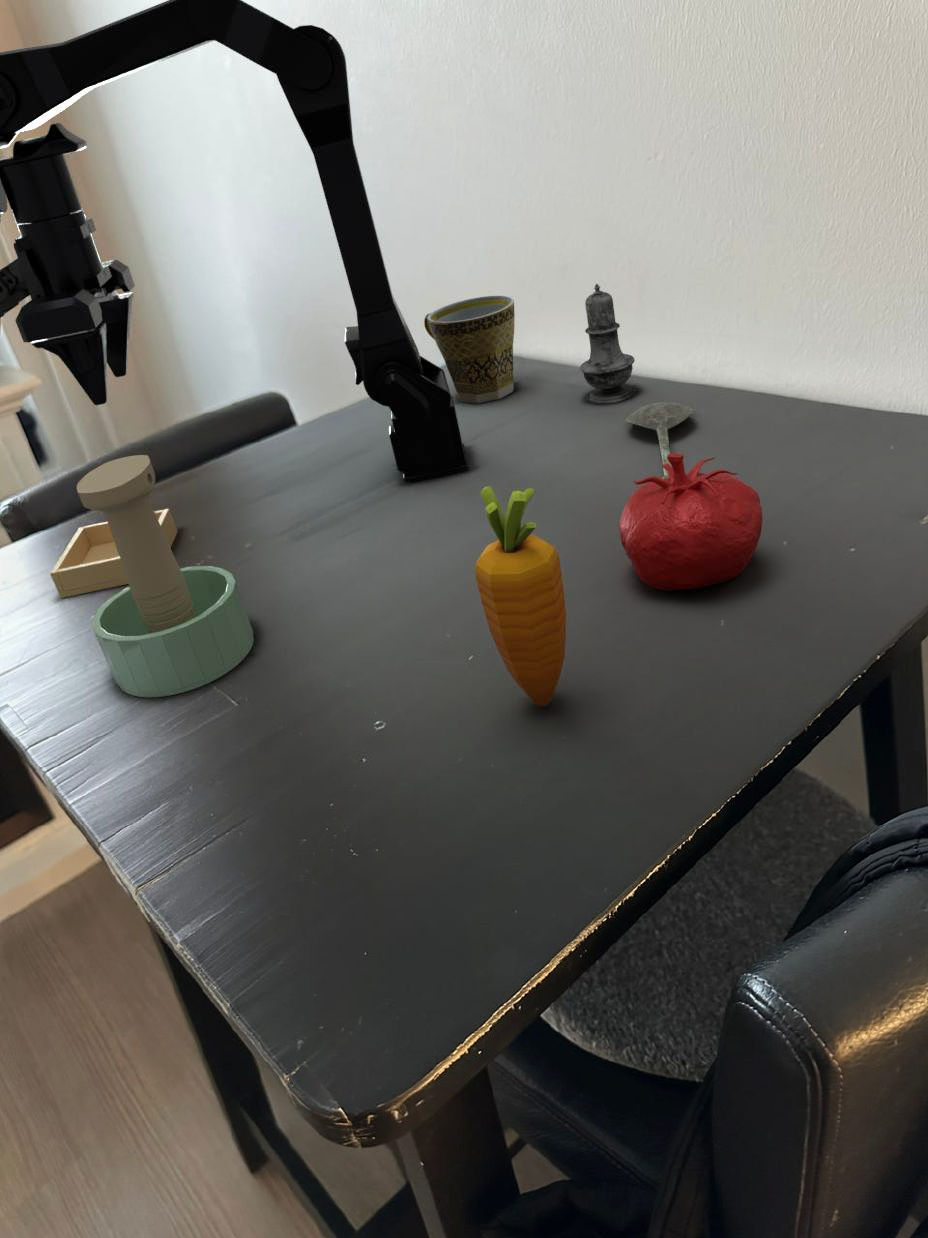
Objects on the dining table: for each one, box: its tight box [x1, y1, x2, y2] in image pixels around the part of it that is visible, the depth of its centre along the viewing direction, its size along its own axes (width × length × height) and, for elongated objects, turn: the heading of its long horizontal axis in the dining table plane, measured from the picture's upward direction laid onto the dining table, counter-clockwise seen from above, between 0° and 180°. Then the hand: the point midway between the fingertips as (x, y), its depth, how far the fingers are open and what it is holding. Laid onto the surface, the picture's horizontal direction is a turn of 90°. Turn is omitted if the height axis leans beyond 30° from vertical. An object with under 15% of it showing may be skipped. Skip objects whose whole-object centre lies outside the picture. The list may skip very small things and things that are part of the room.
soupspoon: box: [625, 401, 695, 479], centre depth 94 cm, size 22×3×7 cm
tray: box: [49, 508, 178, 599], centre depth 97 cm, size 9×10×3 cm
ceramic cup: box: [423, 295, 516, 404], centre depth 119 cm, size 13×10×10 cm
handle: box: [76, 454, 196, 634], centre depth 75 cm, size 5×6×15 cm
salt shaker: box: [579, 283, 637, 405], centre depth 109 cm, size 6×6×12 cm
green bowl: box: [91, 565, 255, 698], centre depth 78 cm, size 11×11×5 cm
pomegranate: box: [618, 452, 763, 592], centre depth 73 cm, size 10×10×9 cm
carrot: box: [474, 485, 567, 708], centre depth 61 cm, size 5×5×15 cm
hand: (111, 389), depth 97 cm, fingers open, 9 cm apart
